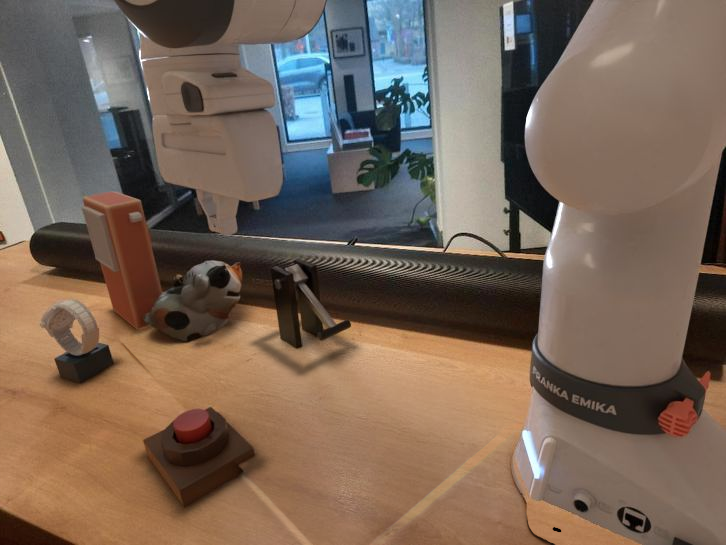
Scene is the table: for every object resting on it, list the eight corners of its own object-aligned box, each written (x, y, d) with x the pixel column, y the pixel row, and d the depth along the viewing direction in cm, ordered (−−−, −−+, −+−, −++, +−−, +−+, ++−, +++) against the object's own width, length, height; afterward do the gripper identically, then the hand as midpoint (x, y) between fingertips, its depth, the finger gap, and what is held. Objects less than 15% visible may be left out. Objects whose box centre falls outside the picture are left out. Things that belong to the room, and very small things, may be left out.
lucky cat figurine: (183, 307, 90) (209, 238, 88) (238, 337, 88) (267, 267, 86) (126, 323, 76) (155, 241, 73) (191, 359, 74) (223, 276, 71)
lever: (348, 331, 69) (353, 321, 68) (320, 345, 66) (324, 335, 65) (301, 271, 74) (305, 260, 72) (273, 281, 71) (276, 270, 69)
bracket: (351, 347, 74) (344, 267, 69) (301, 371, 68) (290, 287, 63) (304, 322, 82) (295, 249, 77) (257, 342, 77) (244, 265, 72)
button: (217, 432, 52) (215, 418, 51) (185, 449, 50) (181, 435, 49) (203, 417, 54) (200, 404, 54) (171, 433, 52) (167, 419, 52)
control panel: (143, 298, 96) (176, 320, 86) (105, 310, 92) (135, 336, 81) (116, 189, 88) (148, 199, 78) (73, 197, 84) (101, 209, 74)
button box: (256, 464, 52) (251, 433, 51) (184, 507, 48) (175, 475, 46) (214, 421, 59) (208, 393, 58) (147, 455, 55) (138, 426, 53)
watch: (86, 355, 76) (65, 290, 72) (121, 365, 73) (102, 297, 69) (51, 374, 72) (27, 306, 68) (87, 386, 68) (64, 315, 64)
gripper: (127, 98, 52) (157, 224, 57) (215, 90, 38) (245, 260, 43) (184, 93, 56) (207, 212, 61) (284, 84, 41) (304, 241, 46)
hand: (224, 232), depth 52 cm, fingers closed
